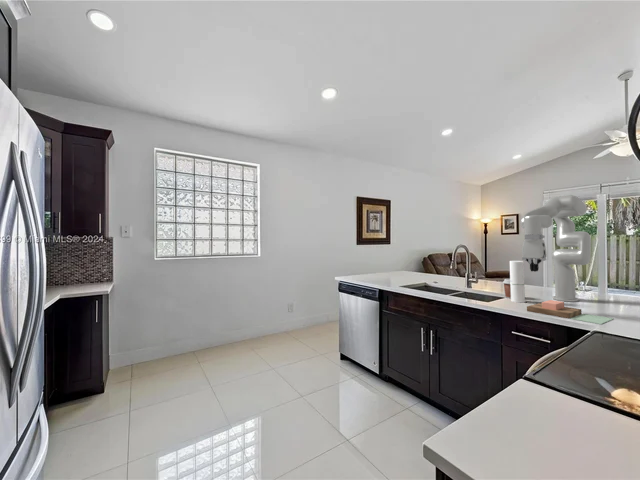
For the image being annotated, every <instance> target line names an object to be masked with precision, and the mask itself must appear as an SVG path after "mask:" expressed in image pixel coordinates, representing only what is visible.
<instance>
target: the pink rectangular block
mask: <svg viewBox="0 0 640 480" xmlns="http://www.w3.org/2000/svg"><path fill="white" fill-rule="evenodd" d="M541 303H542V308H546V309H552V310H558V309H562V308H564V307H565V301H559V300H555V299H549V300H545V301H542V302H541Z"/></svg>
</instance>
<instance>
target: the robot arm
mask: <svg viewBox="0 0 640 480" xmlns="http://www.w3.org/2000/svg"><path fill="white" fill-rule="evenodd" d="M587 210H588V208H587V204H586V203H585V202H584V201H583V200H582V199H581V198H579V196H576V195H572V194H570V195H563V196H561V195H560V196H554V197H551V198H549V199H548V201H546V202H545V204H544V205H542V206H540V207H538V208H536V209H533V210H530V211H528V212H526V213H525V214H524V215H523V216H522V218H521V220H520V226H521V228H522V229H524V240H523V242H522V245H521V246H522V247H521V257H522V258H521V261H526V262H527V263H528V265H529V269H530V272H538V271H539V264H540V263H541V262H544V261H547V257H548V255H547V254H548V253H547V247H546V242H545V240H544V239H545V237H546V236H545V235H543V234H542V233H543V232H542V230H543V229H548V228H551V226H552V225H553V222H555V224H556V238H555V242H556V245H557V247H560V248H558V249H555V250H553V251H552V253H551V259H552V263H553V268H554V269H553V271H554V290H555V291H554V293H555V295H554V296H552V298H551V299H552V300H554V301H561V302H579V301H580V299H579V297H577V293H576V276H575V275H576V272H575V270H574V268H573V267H572V266H571V265H574V266H575V265H576V266H587V265H588V264H589V263H590V260H591V250H592V249H591V247H592V238H591V234H590V233H589V232H587V231H584V230H583V231H582V230H581V231H575V228H576V227H575V226H576V225H575V223H574V221H573V220H571V219H570V217H571V218H572V217H579V216H580V217H581V216H584V215H585V214H586V213H587ZM553 220H554V221H553ZM561 247H562V248H561Z"/></svg>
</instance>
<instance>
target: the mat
mask: <svg viewBox="0 0 640 480" xmlns="http://www.w3.org/2000/svg"><path fill="white" fill-rule="evenodd" d="M569 319H570V320H574V321H581V322H586V323H591V324H596V325H604V324H605V323H608V322H610V321H613V320H615V318H613V317H606V316H601V315H597V314H595V315H594V314H587V313H582V314H581V315H578V316H575V317H572V318H569Z"/></svg>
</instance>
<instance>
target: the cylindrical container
mask: <svg viewBox="0 0 640 480" xmlns="http://www.w3.org/2000/svg"><path fill="white" fill-rule="evenodd" d="M524 261H525V260H509V279H510V286H511V299H510V301H511V302H512V303H520V304H521V303H526V295H525V294H526V292H525V291H526V290H525V288H526V287H525V268H524V267H525V266H524V265H525V263H524Z"/></svg>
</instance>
